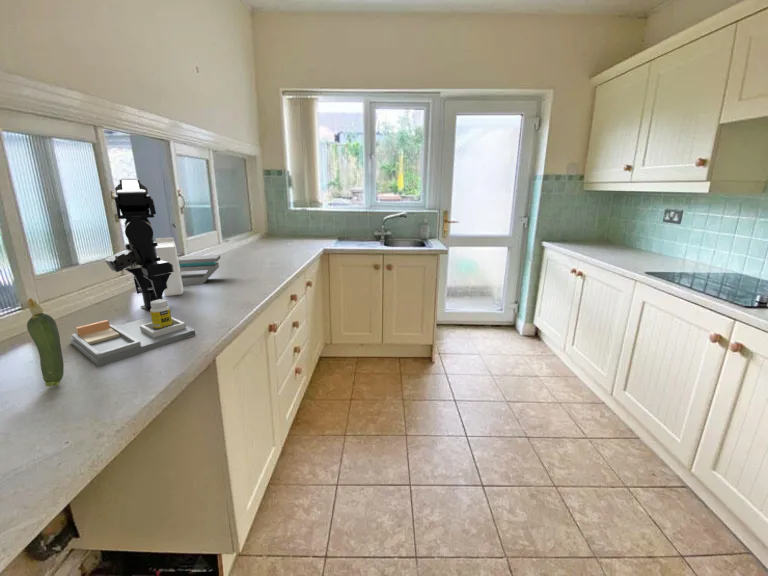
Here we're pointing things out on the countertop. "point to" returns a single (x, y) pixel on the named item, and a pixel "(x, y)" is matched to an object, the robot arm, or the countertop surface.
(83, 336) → the lid
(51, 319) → the vegetable
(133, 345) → the grey divided tray
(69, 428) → the countertop surface
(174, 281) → the milk
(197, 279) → the grey heavy duty stapler
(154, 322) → the supplement bottle
